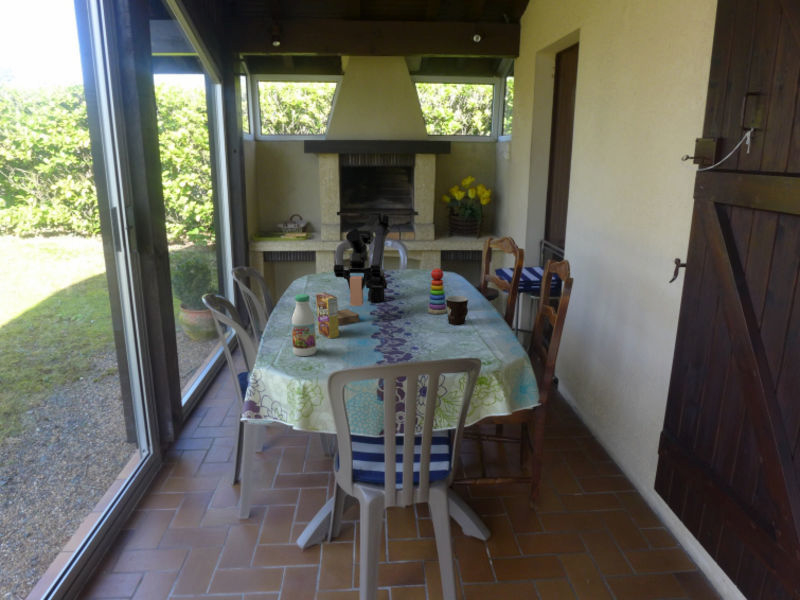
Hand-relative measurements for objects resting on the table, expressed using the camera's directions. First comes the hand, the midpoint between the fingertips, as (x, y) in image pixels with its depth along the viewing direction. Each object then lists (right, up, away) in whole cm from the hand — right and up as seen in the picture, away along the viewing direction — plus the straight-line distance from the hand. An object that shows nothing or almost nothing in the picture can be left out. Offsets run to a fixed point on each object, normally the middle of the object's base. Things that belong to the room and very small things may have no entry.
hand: (356, 289), depth 217 cm
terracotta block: (0, -6, +3) cm, 7 cm away
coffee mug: (+40, -14, +1) cm, 42 cm away
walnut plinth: (-6, -13, +5) cm, 15 cm away
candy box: (-9, -17, -12) cm, 23 cm away
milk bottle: (-15, -22, -30) cm, 40 cm away
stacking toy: (+33, -10, +17) cm, 38 cm away
